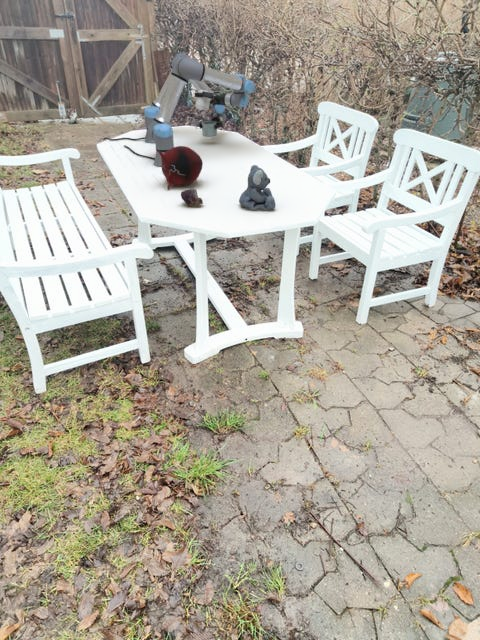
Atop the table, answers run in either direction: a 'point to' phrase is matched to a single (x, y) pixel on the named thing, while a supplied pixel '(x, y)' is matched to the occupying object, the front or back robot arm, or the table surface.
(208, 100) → the grey paneled bucket
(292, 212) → the table surface
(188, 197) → the rock
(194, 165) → the dark red pot
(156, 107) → the back robot arm
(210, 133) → the tub
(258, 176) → the koala plush
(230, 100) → the front robot arm
